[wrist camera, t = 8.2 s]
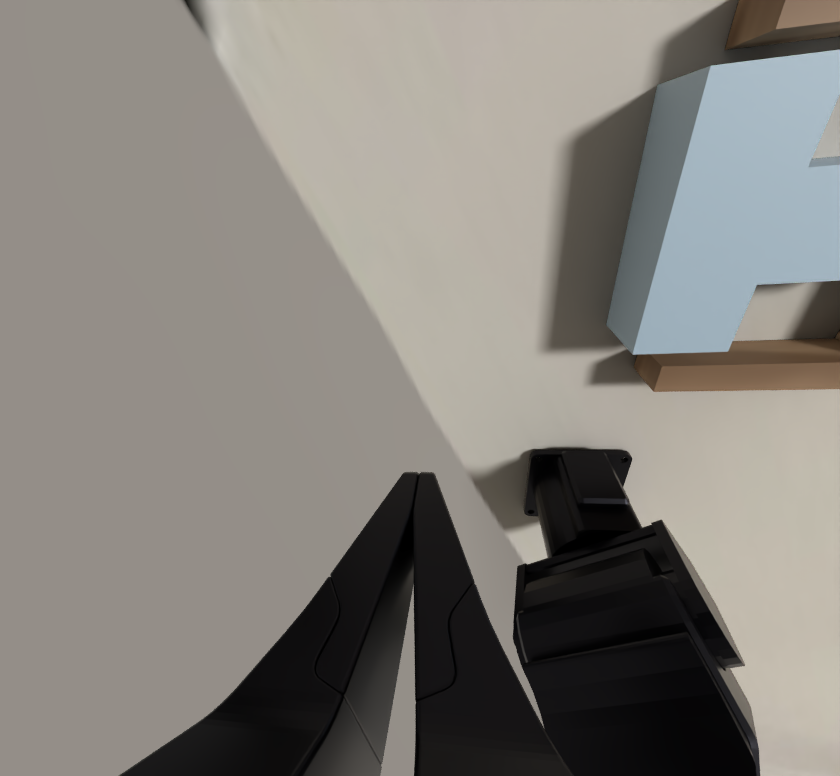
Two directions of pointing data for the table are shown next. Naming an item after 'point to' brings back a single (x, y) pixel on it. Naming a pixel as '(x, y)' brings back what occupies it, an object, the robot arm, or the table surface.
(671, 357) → the pocket
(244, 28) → the table surface
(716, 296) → the t block
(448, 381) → the table surface
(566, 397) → the table surface
